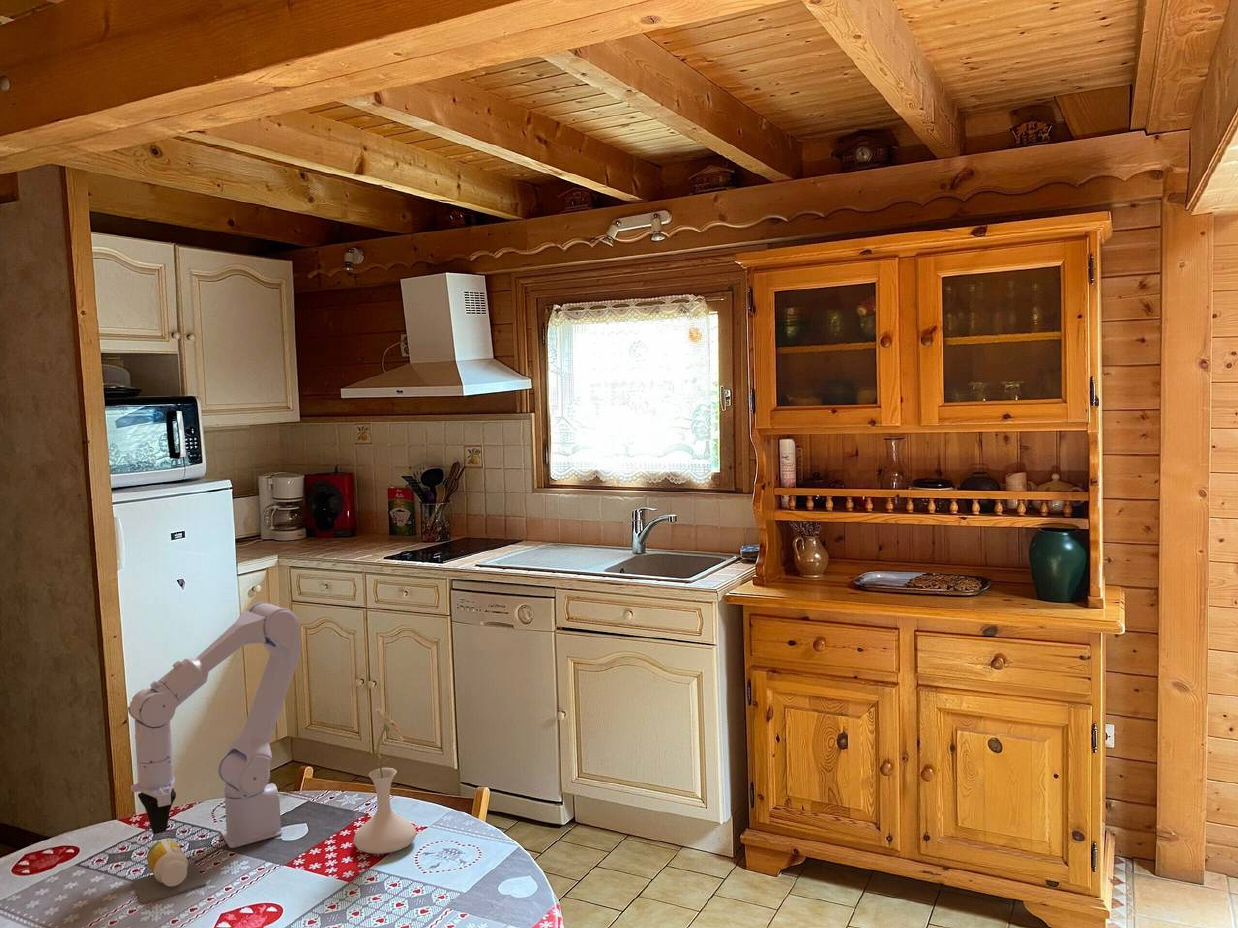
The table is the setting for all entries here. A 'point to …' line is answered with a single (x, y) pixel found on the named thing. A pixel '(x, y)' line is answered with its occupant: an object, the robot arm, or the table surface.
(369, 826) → the flower in vase
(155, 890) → the mat
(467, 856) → the table surface
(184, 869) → the supplement bottle
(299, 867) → the table surface
